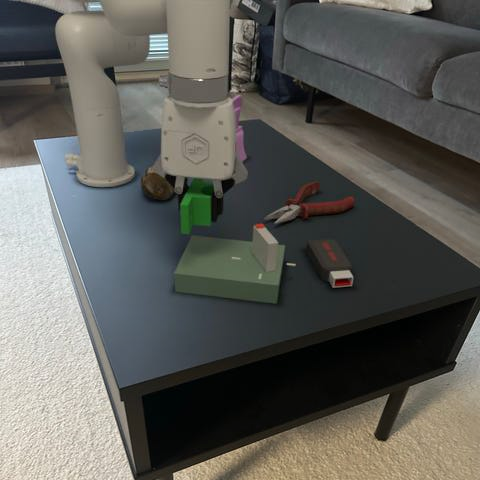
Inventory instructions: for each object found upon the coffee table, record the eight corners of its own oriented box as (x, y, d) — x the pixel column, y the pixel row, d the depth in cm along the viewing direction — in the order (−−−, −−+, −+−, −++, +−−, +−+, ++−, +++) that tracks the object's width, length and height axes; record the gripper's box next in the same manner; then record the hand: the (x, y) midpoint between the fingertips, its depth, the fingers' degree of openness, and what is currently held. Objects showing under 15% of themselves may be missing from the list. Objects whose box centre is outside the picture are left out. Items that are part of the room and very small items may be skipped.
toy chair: (217, 150, 127) (217, 86, 118) (248, 156, 124) (251, 92, 115) (201, 160, 121) (200, 95, 112) (234, 167, 118) (236, 101, 109)
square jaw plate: (275, 270, 77) (278, 240, 74) (266, 272, 77) (268, 242, 74) (260, 251, 82) (262, 222, 78) (251, 253, 81) (253, 224, 78)
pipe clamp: (206, 236, 72) (206, 207, 69) (181, 234, 72) (179, 205, 69) (219, 202, 81) (219, 174, 78) (196, 200, 81) (195, 172, 78)
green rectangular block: (175, 291, 78) (173, 272, 76) (192, 252, 87) (191, 234, 85) (290, 305, 76) (292, 285, 74) (295, 264, 86) (297, 245, 83)
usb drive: (333, 249, 90) (335, 235, 88) (357, 287, 81) (360, 272, 79) (305, 251, 89) (307, 237, 88) (326, 289, 80) (329, 275, 78)
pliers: (248, 216, 99) (248, 203, 97) (313, 189, 110) (315, 178, 108) (290, 238, 93) (292, 226, 91) (356, 208, 104) (358, 196, 102)
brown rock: (153, 169, 109) (127, 193, 103) (163, 148, 104) (136, 172, 98) (181, 191, 110) (157, 216, 104) (192, 171, 105) (167, 196, 99)
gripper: (127, 90, 63) (140, 222, 74) (259, 101, 61) (252, 234, 72) (145, 76, 68) (154, 200, 80) (266, 85, 67) (258, 211, 78)
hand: (201, 215), depth 76 cm, fingers closed on pipe clamp, 3 cm apart
